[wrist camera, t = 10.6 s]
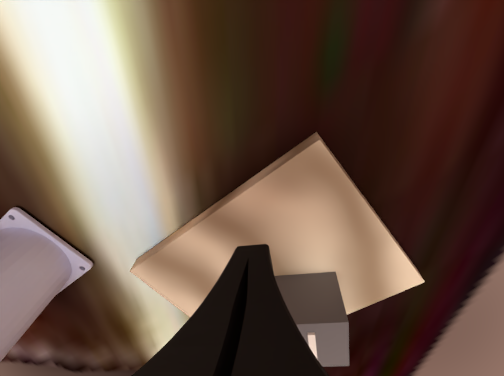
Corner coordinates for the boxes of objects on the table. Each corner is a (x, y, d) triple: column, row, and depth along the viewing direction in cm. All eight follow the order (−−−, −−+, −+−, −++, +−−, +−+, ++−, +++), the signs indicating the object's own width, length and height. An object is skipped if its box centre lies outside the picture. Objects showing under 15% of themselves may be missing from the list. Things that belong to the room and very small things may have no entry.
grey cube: (337, 313, 25) (349, 368, 21) (280, 315, 26) (281, 370, 21) (335, 271, 23) (349, 325, 18) (273, 276, 23) (272, 328, 19)
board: (244, 344, 30) (243, 358, 29) (137, 258, 25) (129, 271, 24) (416, 268, 24) (424, 281, 22) (316, 131, 19) (319, 139, 17)
